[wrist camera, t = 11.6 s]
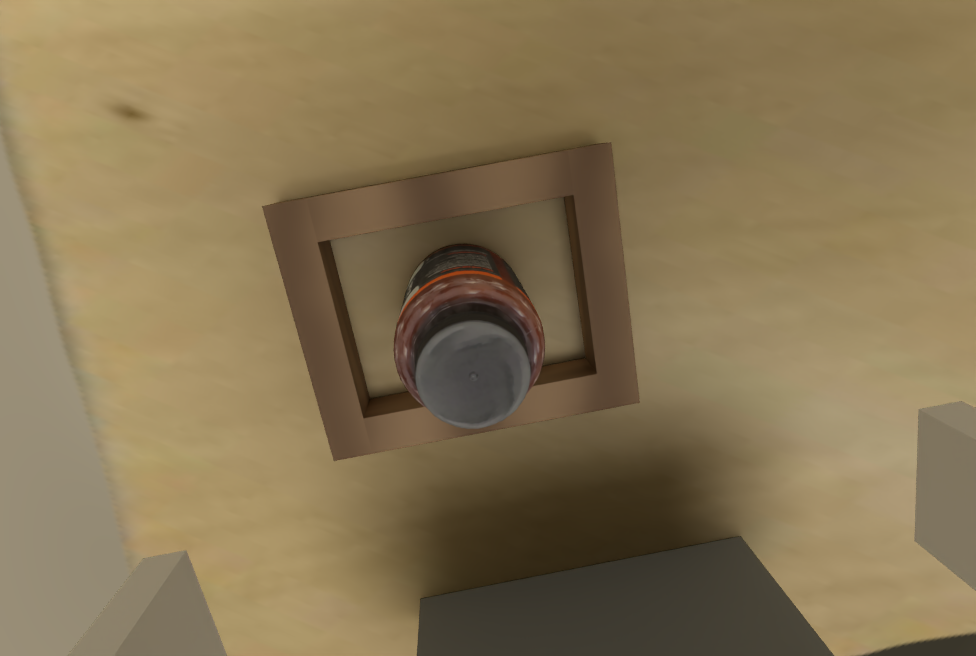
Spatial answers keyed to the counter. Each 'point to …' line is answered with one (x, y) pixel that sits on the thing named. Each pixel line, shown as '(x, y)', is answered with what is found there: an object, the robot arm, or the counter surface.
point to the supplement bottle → (468, 337)
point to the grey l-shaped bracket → (627, 611)
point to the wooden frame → (439, 196)
